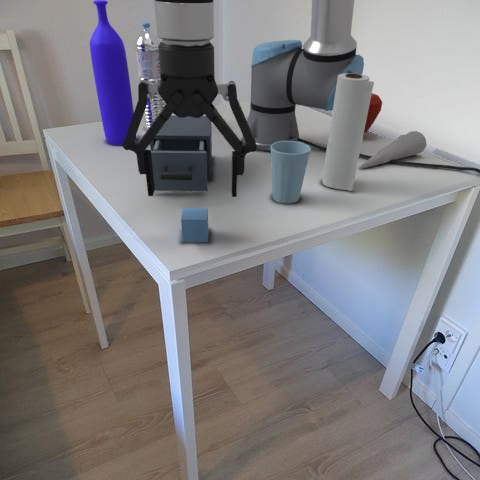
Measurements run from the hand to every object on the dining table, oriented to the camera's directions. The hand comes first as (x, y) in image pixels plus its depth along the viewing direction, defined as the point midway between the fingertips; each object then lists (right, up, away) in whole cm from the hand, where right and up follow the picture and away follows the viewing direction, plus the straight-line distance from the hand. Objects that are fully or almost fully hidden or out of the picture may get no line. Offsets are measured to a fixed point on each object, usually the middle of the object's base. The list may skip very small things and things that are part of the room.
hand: (193, 193), depth 70 cm
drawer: (-5, +9, +21) cm, 23 cm away
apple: (+41, +32, +51) cm, 73 cm away
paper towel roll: (+29, +9, +24) cm, 39 cm away
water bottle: (-16, +34, +52) cm, 64 cm away
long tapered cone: (+45, +18, +36) cm, 61 cm away
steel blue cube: (0, -6, +5) cm, 8 cm away
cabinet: (-5, +15, +29) cm, 33 cm away
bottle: (-24, +27, +43) cm, 56 cm away
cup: (+17, +4, +18) cm, 26 cm away
